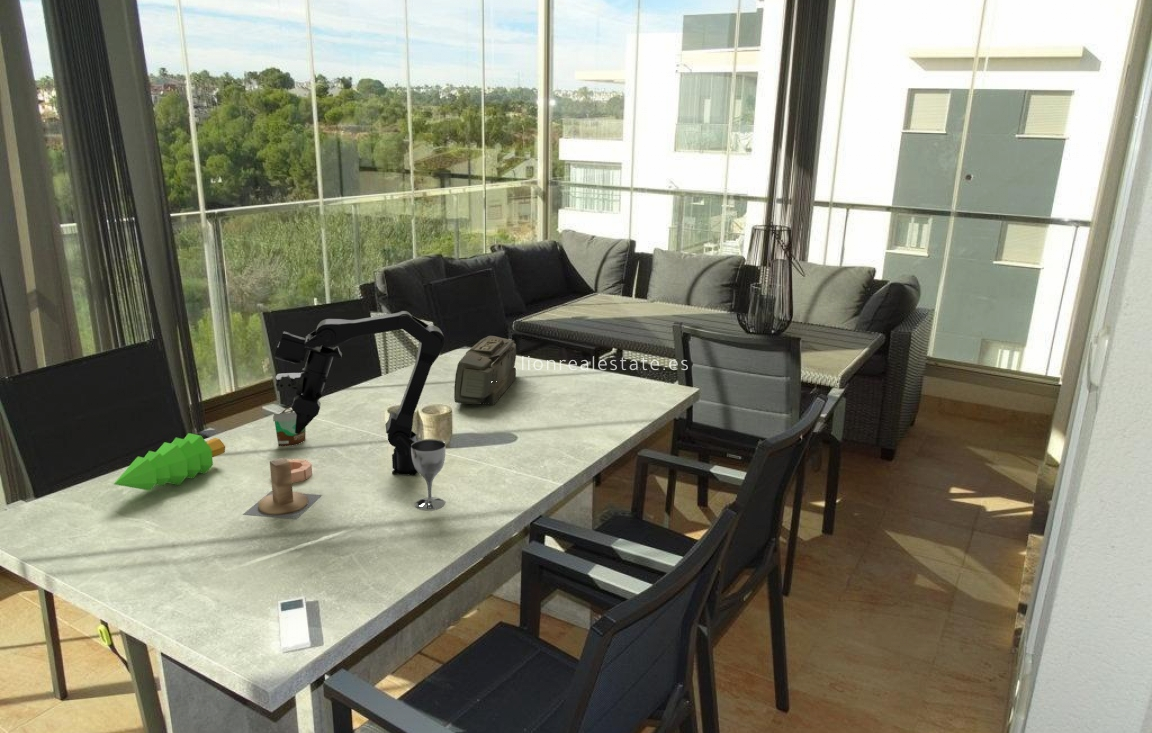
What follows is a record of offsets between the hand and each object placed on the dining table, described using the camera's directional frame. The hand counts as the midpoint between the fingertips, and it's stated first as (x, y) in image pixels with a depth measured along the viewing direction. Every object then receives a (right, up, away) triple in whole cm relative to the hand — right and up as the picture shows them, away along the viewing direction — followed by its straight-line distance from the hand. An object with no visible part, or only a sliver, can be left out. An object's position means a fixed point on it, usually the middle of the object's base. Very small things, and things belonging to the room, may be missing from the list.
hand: (298, 426), depth 198 cm
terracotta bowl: (-3, -13, +4) cm, 14 cm away
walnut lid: (+1, -17, -12) cm, 21 cm away
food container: (-11, -6, +29) cm, 31 cm away
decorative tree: (-32, -14, -1) cm, 35 cm away
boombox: (+39, +6, +79) cm, 88 cm away
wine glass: (+34, -18, -8) cm, 40 cm away
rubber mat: (+1, -18, -12) cm, 21 cm away
